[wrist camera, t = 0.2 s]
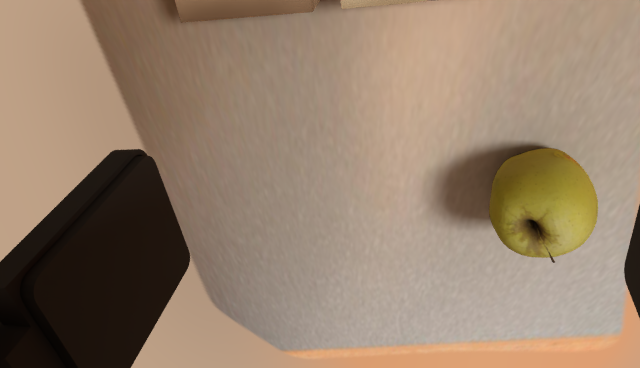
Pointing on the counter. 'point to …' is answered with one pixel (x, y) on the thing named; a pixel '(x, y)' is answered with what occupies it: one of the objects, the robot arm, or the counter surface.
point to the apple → (543, 203)
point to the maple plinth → (374, 2)
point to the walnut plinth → (239, 8)
